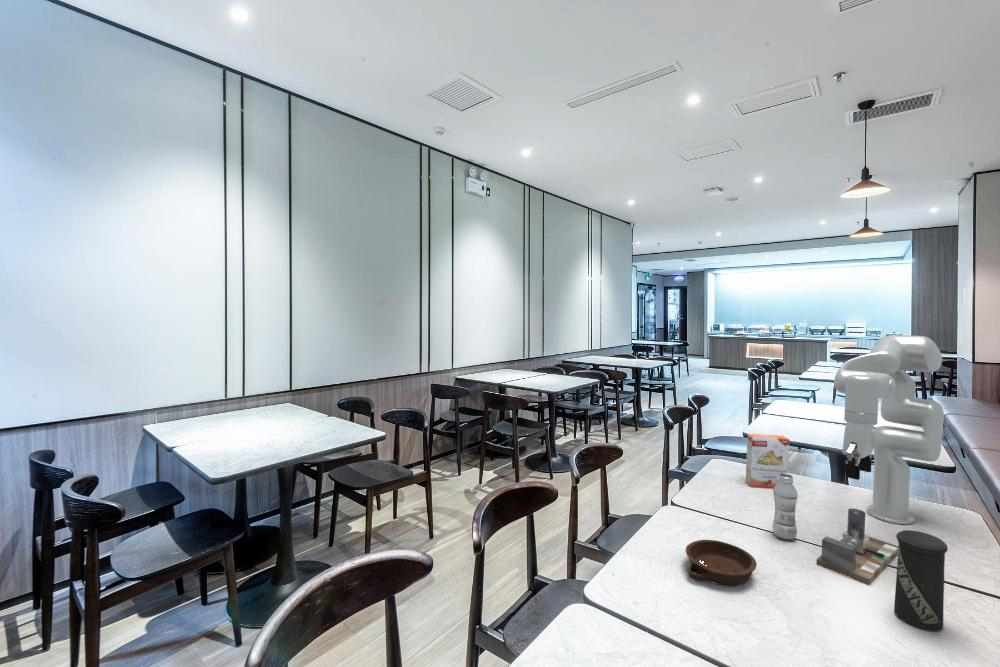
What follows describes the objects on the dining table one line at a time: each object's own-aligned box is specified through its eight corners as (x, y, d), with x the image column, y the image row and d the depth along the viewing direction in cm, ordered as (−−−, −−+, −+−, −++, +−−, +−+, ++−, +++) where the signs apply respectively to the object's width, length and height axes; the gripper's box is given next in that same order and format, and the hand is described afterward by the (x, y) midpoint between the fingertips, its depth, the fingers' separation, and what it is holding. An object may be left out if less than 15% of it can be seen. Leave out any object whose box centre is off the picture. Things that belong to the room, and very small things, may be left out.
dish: (774, 577, 122) (775, 559, 121) (723, 603, 111) (724, 583, 110) (716, 547, 137) (716, 531, 136) (666, 568, 126) (666, 550, 126)
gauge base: (851, 535, 144) (852, 512, 143) (900, 551, 134) (901, 527, 133) (816, 564, 127) (817, 538, 127) (869, 585, 118) (870, 557, 117)
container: (882, 608, 109) (886, 527, 108) (916, 606, 109) (920, 526, 108) (919, 633, 100) (923, 546, 99) (955, 631, 101) (960, 544, 100)
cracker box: (750, 487, 182) (752, 437, 181) (745, 482, 188) (746, 433, 187) (788, 489, 180) (789, 438, 179) (781, 484, 186) (783, 434, 185)
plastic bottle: (800, 543, 139) (802, 480, 138) (776, 541, 140) (778, 478, 139) (791, 533, 145) (793, 472, 144) (768, 531, 146) (770, 471, 145)
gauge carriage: (848, 541, 136) (849, 506, 136) (886, 554, 129) (888, 517, 128) (834, 552, 130) (836, 515, 129) (874, 567, 122) (875, 528, 122)
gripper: (855, 410, 139) (853, 464, 140) (834, 418, 129) (832, 477, 130) (886, 415, 133) (884, 471, 134) (866, 424, 123) (864, 485, 124)
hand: (858, 474), depth 132 cm, fingers open, 9 cm apart
